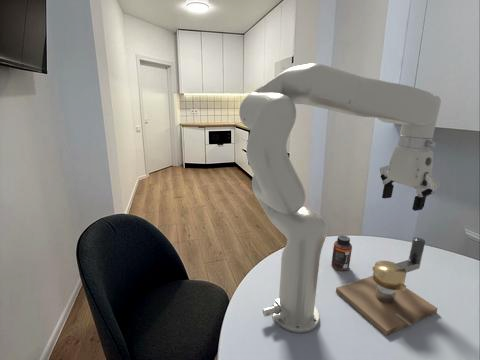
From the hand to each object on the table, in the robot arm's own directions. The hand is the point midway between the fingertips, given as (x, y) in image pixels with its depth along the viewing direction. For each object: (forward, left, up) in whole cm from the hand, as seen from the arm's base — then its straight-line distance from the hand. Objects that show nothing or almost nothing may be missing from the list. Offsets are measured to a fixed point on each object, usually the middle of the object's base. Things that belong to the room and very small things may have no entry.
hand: (401, 203), depth 79 cm
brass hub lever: (-1, -4, -22) cm, 22 cm away
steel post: (-5, -4, -28) cm, 28 cm away
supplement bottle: (-4, +15, -29) cm, 33 cm away
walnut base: (-5, -4, -29) cm, 30 cm away
